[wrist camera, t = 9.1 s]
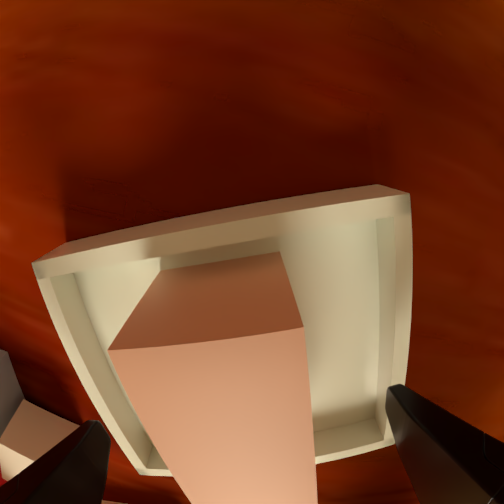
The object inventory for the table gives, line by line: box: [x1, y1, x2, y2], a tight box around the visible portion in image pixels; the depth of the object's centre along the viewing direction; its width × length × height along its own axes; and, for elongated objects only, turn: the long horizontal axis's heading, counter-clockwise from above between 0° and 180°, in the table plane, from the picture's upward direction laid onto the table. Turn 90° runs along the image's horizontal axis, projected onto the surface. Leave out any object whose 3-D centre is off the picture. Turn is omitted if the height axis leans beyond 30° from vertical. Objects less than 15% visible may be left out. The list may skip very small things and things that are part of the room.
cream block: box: [0, 399, 80, 481], centre depth 12 cm, size 4×4×4 cm
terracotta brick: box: [107, 251, 317, 504], centre depth 9 cm, size 8×4×5 cm, turn 9°
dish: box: [32, 184, 413, 476], centre depth 11 cm, size 11×12×2 cm
